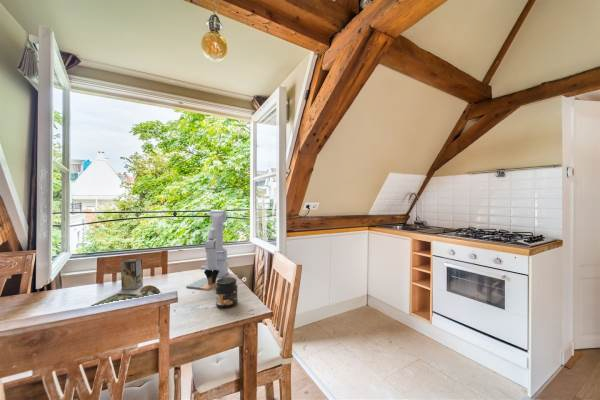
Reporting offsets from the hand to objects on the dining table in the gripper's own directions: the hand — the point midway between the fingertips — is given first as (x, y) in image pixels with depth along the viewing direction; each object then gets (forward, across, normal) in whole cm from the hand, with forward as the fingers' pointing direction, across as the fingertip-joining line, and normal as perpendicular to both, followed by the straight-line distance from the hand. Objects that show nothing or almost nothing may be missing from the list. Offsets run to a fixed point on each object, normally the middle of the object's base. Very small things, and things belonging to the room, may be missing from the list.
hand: (212, 282), depth 149 cm
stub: (+2, 0, 0) cm, 2 cm away
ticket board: (+2, -8, 0) cm, 8 cm away
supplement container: (+2, +24, -20) cm, 31 cm away
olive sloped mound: (+3, -26, -32) cm, 41 cm away
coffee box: (+2, -44, -15) cm, 47 cm away
